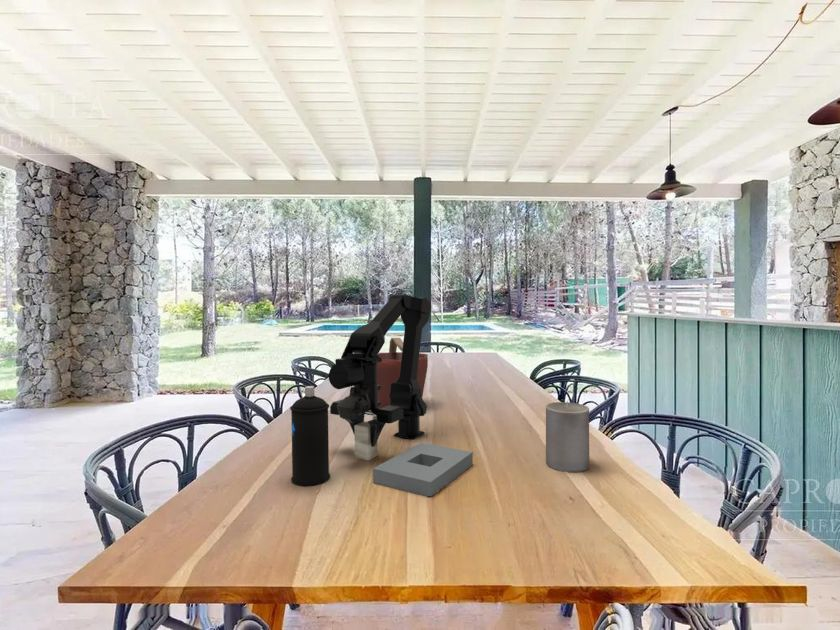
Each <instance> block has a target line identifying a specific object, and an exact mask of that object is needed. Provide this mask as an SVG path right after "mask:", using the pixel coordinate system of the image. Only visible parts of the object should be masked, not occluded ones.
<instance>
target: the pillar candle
mask: <svg viewBox="0 0 840 630" xmlns="http://www.w3.org/2000/svg"><path fill="white" fill-rule="evenodd" d="M545 464H546V466H548V467H549V468H551V469H552V470H556V471H558V472H564V473H572V472H573V473H574V472H575V473H579V472H580V473H581V472H585V471H587V470H588V469H589V467H590V408H589V407H588V406H587V405H585V404H580V403H576V402H570V401H568V400H567V402H566V401H565V402H564V401H561V402H560V401H559V402H558V401H557V402H556V401H555V402H550V403H547V404H546V405H545Z"/></svg>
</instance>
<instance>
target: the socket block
mask: <svg viewBox="0 0 840 630" xmlns="http://www.w3.org/2000/svg"><path fill="white" fill-rule="evenodd" d="M473 453H474V451H469V450H464V449H459V448H454V447H448V446H443V445H436V444H431V443H426V442H419V443H418V444H416V445H414V446H411V448H409V449H406V450H405V451H403V452H401V453H399V454H397V455H396V456H393V457H392V458H390V459H388V460H386V461H384V462H383V463H380V464H379V465H377V466H375V467H374V468H372V483H374V484H377V485H382V486H385V487H389V488H393V489H397V490H400V491H401V490H402V491H405V492H408V493H411V494H413V493H414V494H416V493H417V495H420V496H424V495H425V497H428V496H430V497H429V498H432V497H433V496H434V495H436V494H437V493H438V492H439V491H441V490H442V489H443V488H445V487H446V486H447V485H449V484H450V483H451V482H452V481H454V480H455V479H456V478H458V477H459V476H461V474H463V473H464V472H466V471H467V470H468V469H469V468H470V467H472V466H473V464H474V462H473V460H474V457H473V455H474V454H473ZM453 479H454V480H453ZM449 482H450V483H449ZM445 485H446V486H445ZM444 486H445V487H444ZM441 488H442V489H441ZM440 489H441V490H440ZM437 491H438V492H437ZM436 492H437V493H436ZM433 494H434V495H433ZM432 495H433V496H432ZM431 496H432V497H431Z"/></svg>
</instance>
